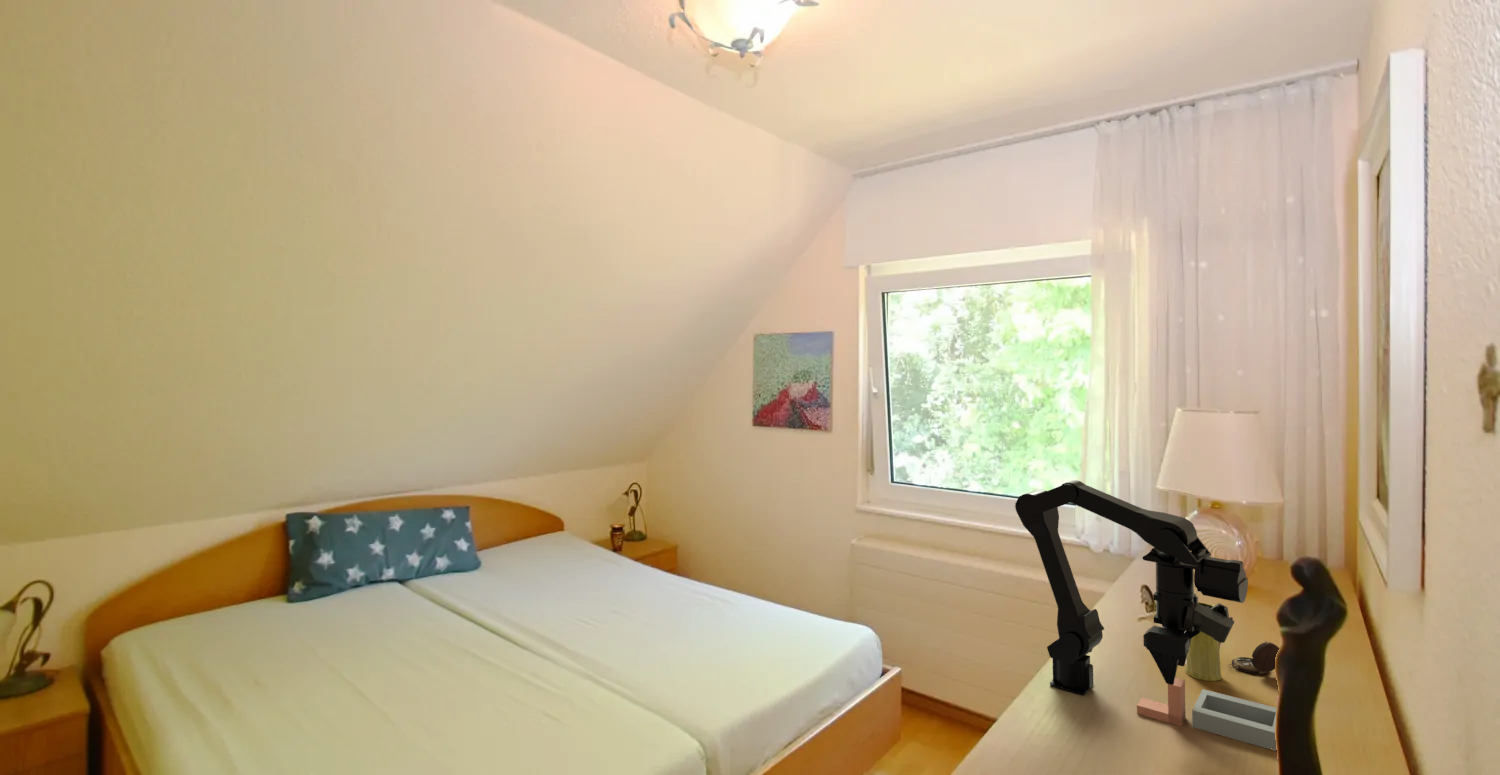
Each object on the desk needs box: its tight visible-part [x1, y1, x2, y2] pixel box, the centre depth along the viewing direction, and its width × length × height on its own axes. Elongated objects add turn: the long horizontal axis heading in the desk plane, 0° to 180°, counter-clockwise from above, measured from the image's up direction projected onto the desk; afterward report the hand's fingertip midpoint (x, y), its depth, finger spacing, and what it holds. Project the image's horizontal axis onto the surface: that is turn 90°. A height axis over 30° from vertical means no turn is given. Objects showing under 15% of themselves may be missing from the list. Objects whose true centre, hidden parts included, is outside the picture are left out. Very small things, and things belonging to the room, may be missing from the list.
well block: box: [1191, 688, 1278, 752], centre depth 117 cm, size 12×10×3 cm
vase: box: [1185, 601, 1223, 682], centre depth 136 cm, size 6×6×14 cm
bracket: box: [1136, 677, 1187, 727], centre depth 122 cm, size 7×4×7 cm, turn 47°
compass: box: [1227, 640, 1280, 675], centre depth 138 cm, size 8×8×7 cm
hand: (1175, 674), depth 120 cm, fingers open, 9 cm apart
